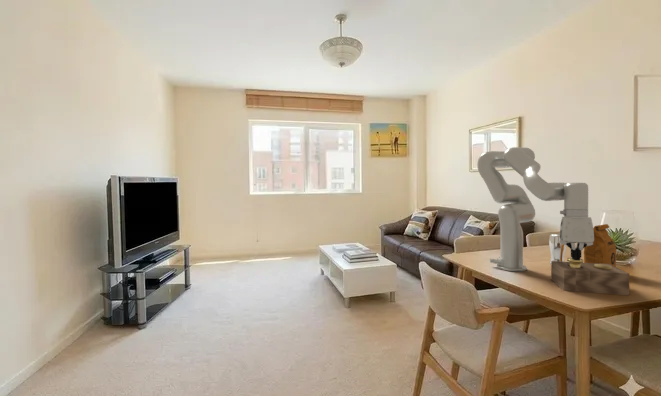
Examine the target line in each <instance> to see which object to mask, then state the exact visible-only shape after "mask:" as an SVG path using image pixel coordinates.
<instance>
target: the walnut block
mask: <svg viewBox="0 0 661 396" xmlns="http://www.w3.org/2000/svg"><path fill="white" fill-rule="evenodd" d="M550 261H551V260H550ZM550 265H551V266H550V267H551V269H550V271H551V272H550V274H551V275H550V276H551V277H550V278H551V279H550V280H551V281H552V282H553V283H554V284H556V285H557V286H558V287H559V288H560V289H562V290H563V291H569V292H581V293H582V292H583V293H593V294H594V293H595V294H607V295H608V294H609V295H619V296H620V295H621V296H630V273H628V272H627V271H625V270H622V269H621V268H618V267H617V266H616V267H614V266H612V265H610V264H598V263H584V262H583V263H581V268H574V267H570V262H569V261H564V262H559V261H551V264H550Z"/></svg>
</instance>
